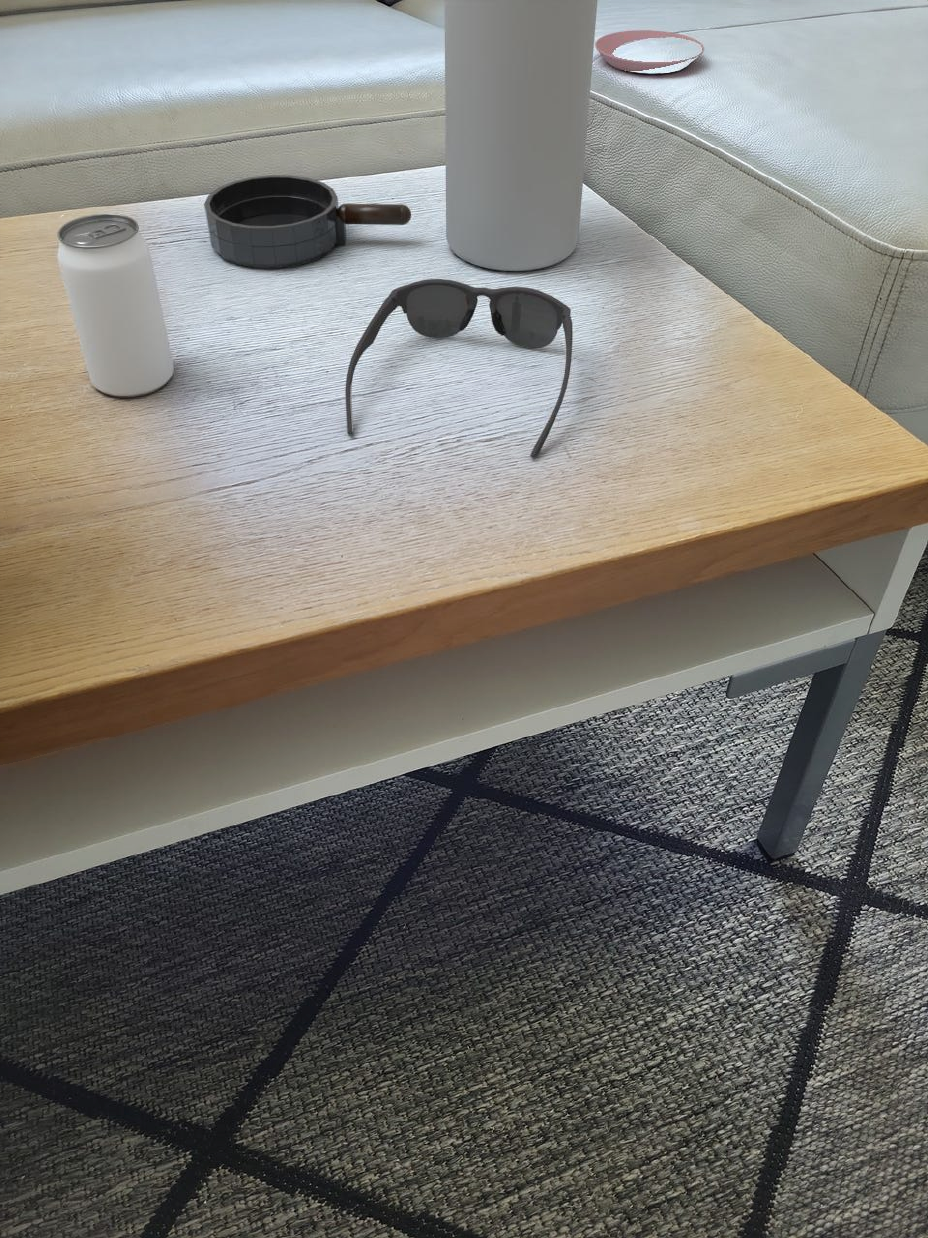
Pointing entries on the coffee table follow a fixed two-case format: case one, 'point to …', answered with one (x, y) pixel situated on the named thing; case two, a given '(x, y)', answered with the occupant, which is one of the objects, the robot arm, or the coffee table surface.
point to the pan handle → (370, 216)
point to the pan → (272, 220)
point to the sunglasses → (449, 311)
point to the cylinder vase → (516, 128)
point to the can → (115, 304)
